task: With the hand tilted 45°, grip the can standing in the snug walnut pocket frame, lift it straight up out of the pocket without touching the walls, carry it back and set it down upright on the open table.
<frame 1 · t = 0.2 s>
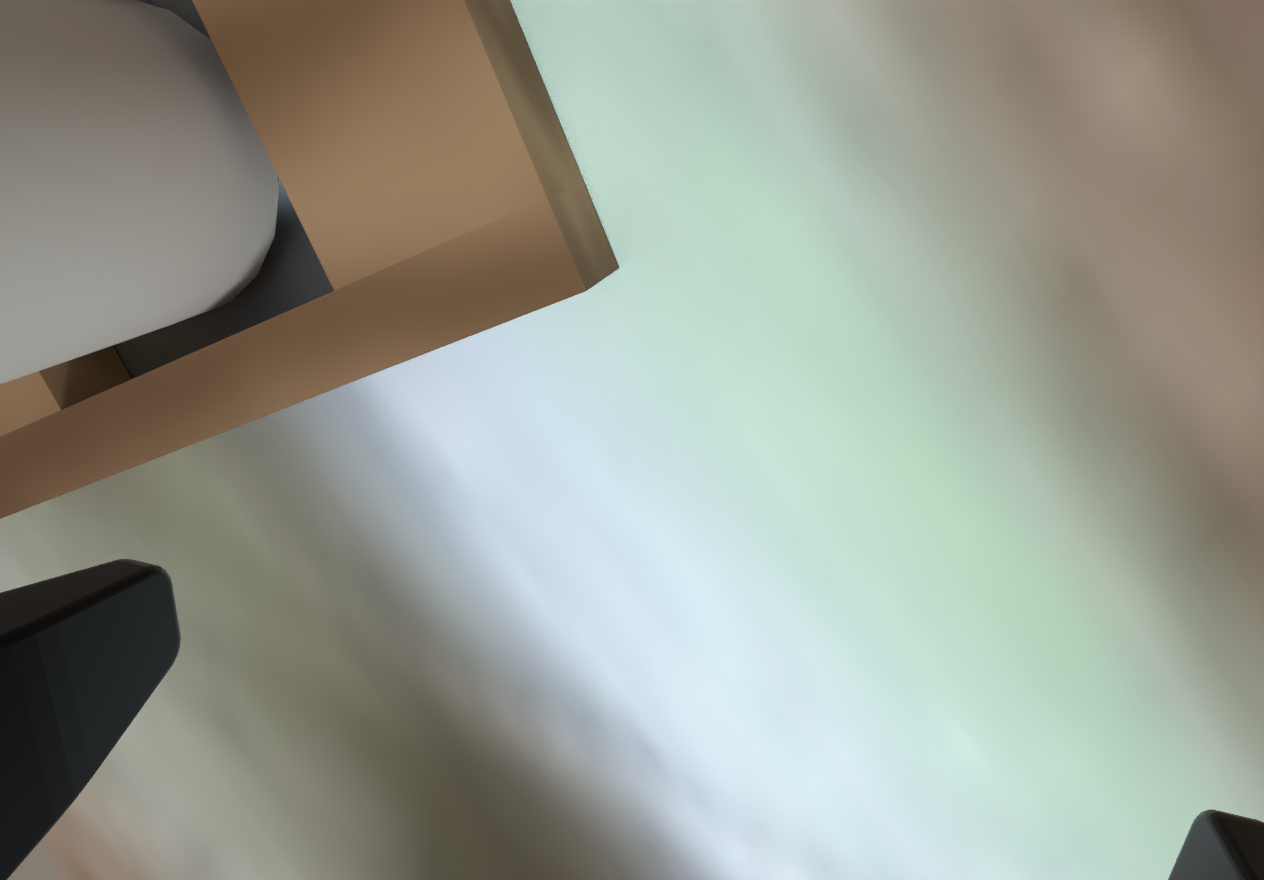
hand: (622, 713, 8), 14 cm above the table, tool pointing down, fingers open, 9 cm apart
can: (173, 162, 24), resting in pocket board
pocket board: (167, 163, 24), on the table
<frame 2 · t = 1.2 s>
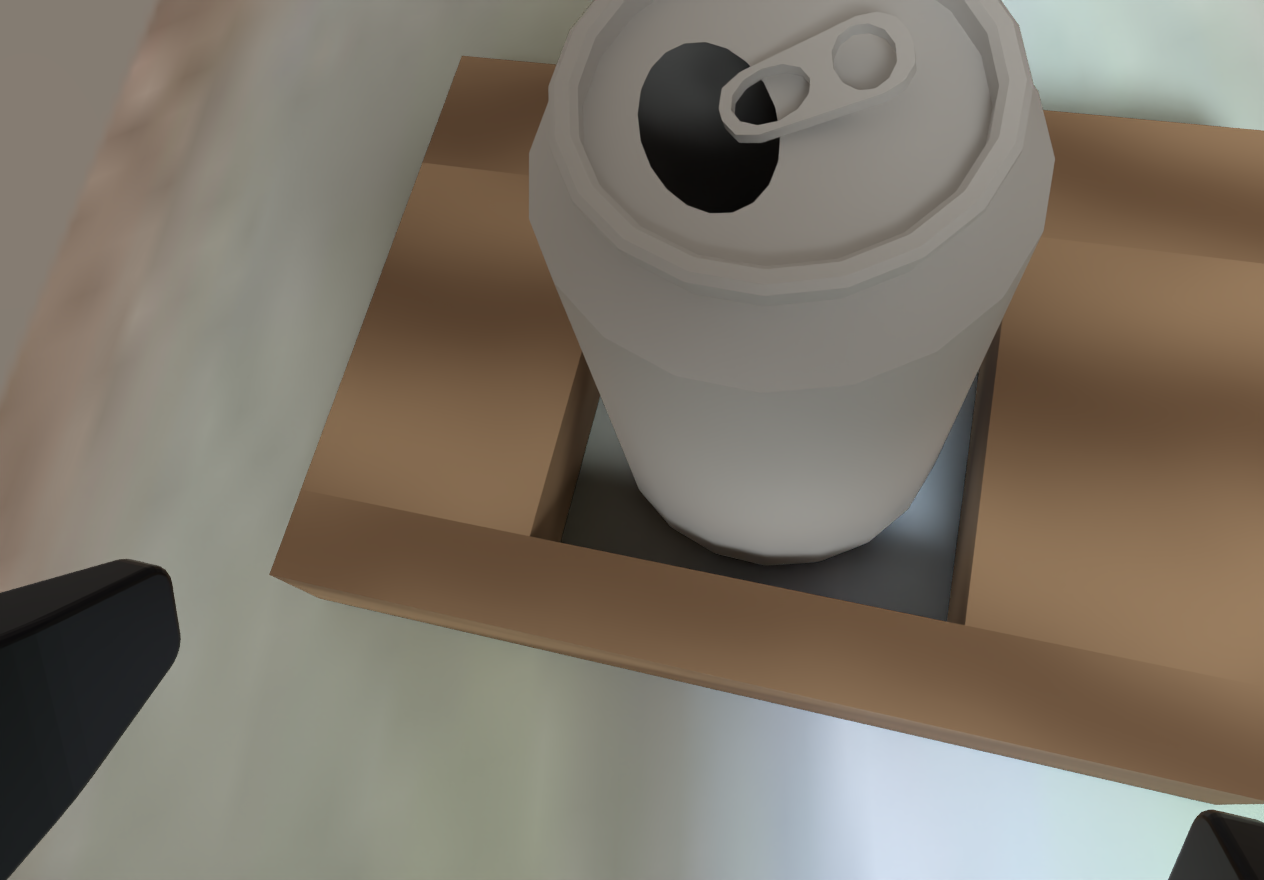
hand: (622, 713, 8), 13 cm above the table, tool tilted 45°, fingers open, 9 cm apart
can: (776, 427, 23), resting in pocket board
pocket board: (776, 424, 23), on the table
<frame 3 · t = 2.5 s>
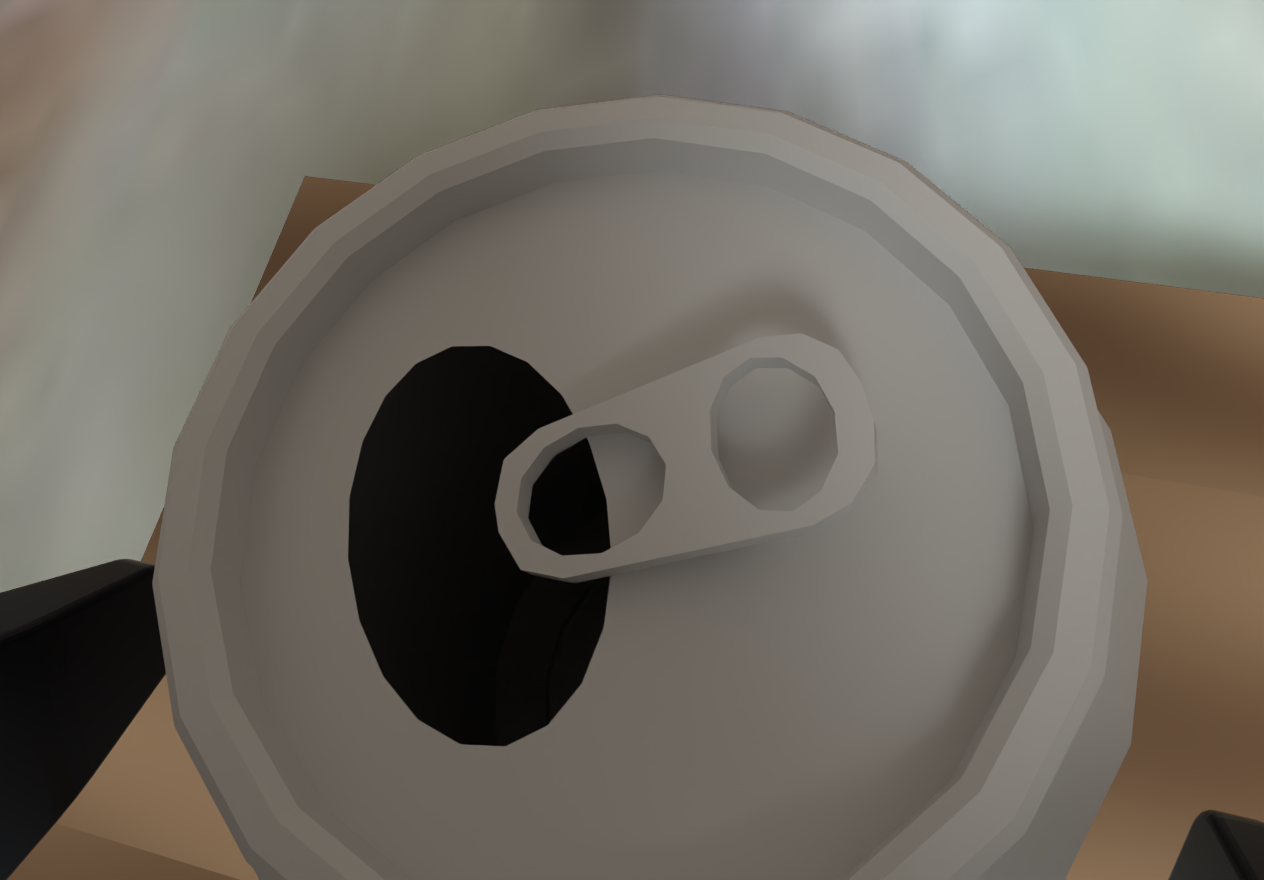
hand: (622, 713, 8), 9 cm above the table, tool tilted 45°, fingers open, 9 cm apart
can: (711, 697, 17), resting in pocket board
pocket board: (710, 695, 17), on the table
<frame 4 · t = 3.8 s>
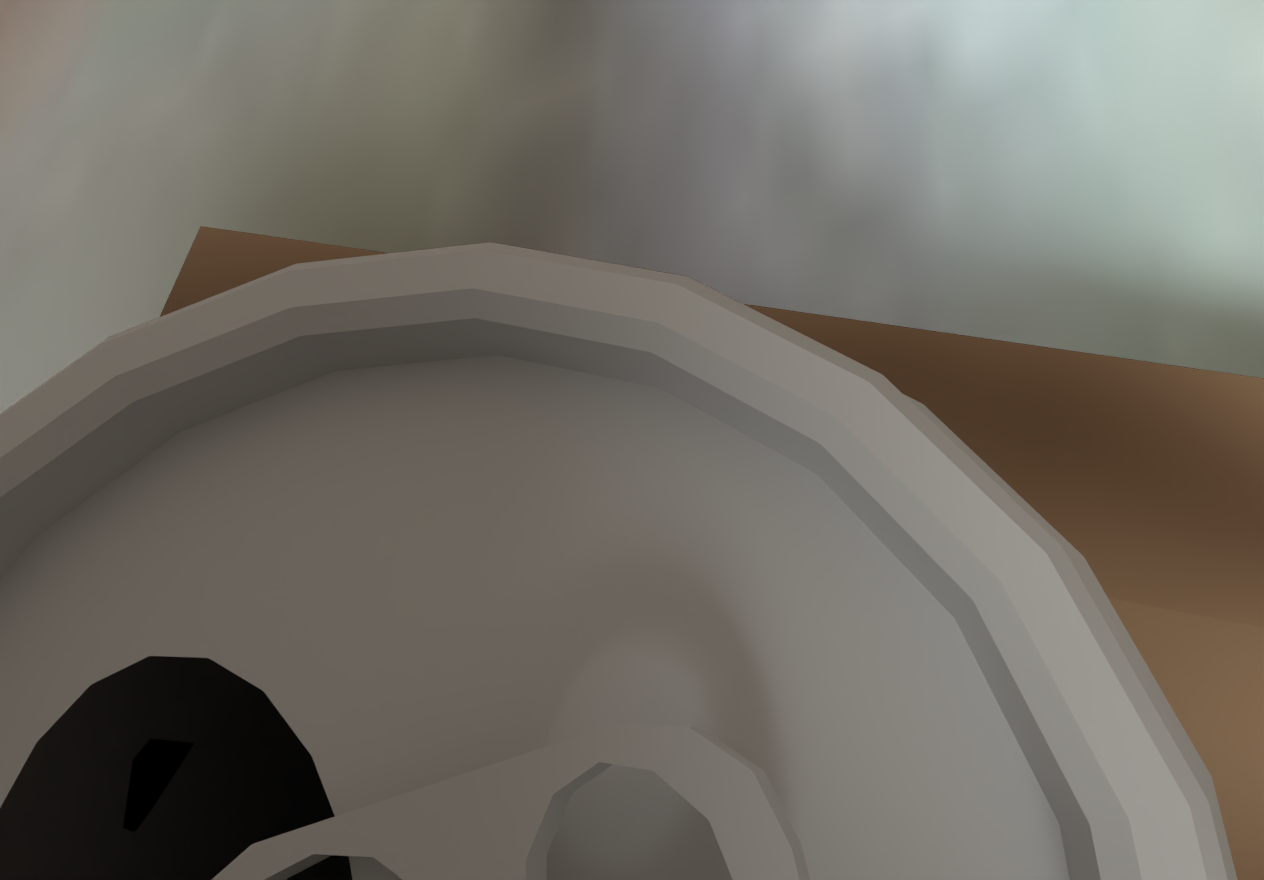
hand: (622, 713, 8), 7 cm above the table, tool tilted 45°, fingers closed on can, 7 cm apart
can: (669, 852, 14), resting in pocket board, touching gripper
pocket board: (668, 852, 14), on the table
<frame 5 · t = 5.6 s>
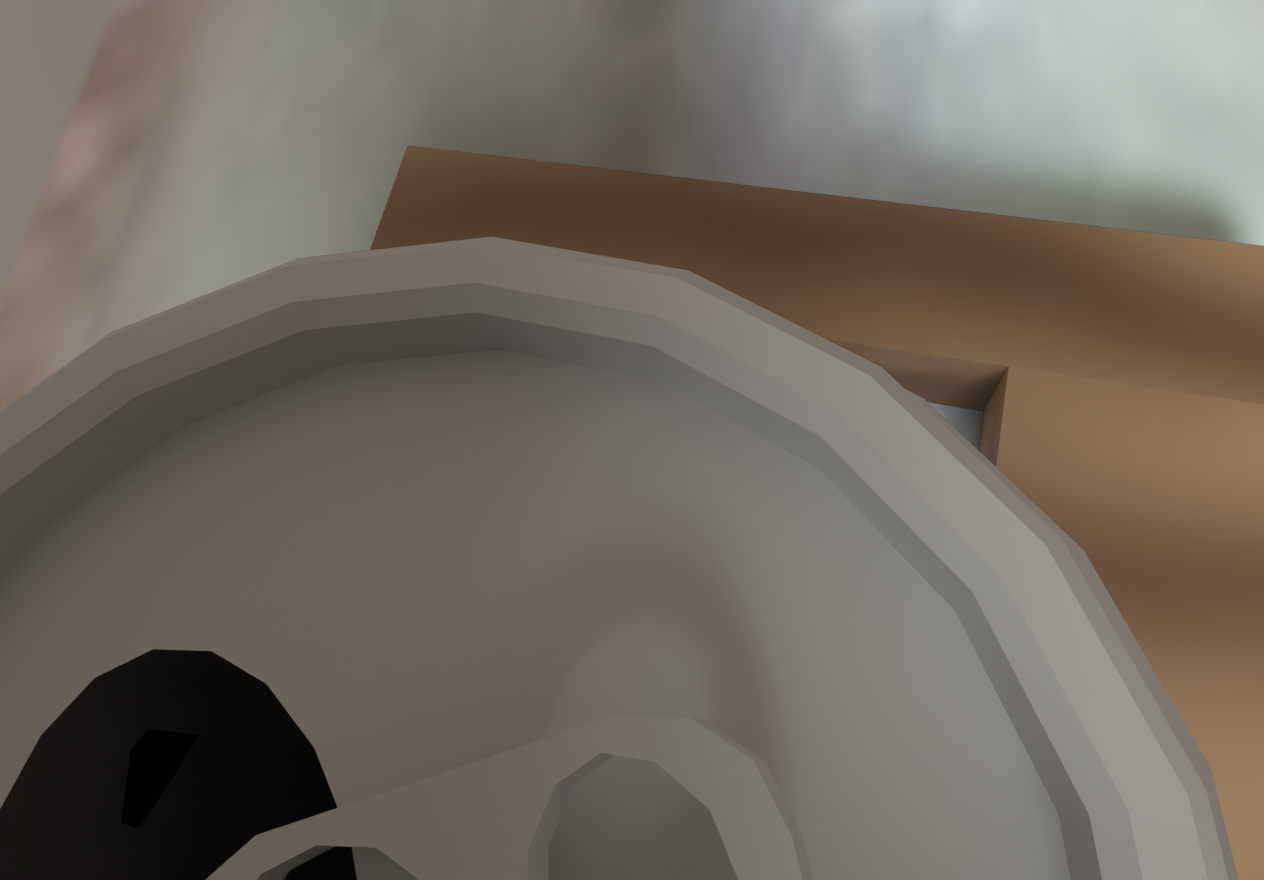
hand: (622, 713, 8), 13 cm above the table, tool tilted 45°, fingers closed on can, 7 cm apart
can: (670, 847, 14), point 5 cm above the table, touching gripper
pocket board: (750, 562, 21), on the table
when the fingers open (8 cm above the table, at t = 7.6 s): can drops 1 cm, on the table.
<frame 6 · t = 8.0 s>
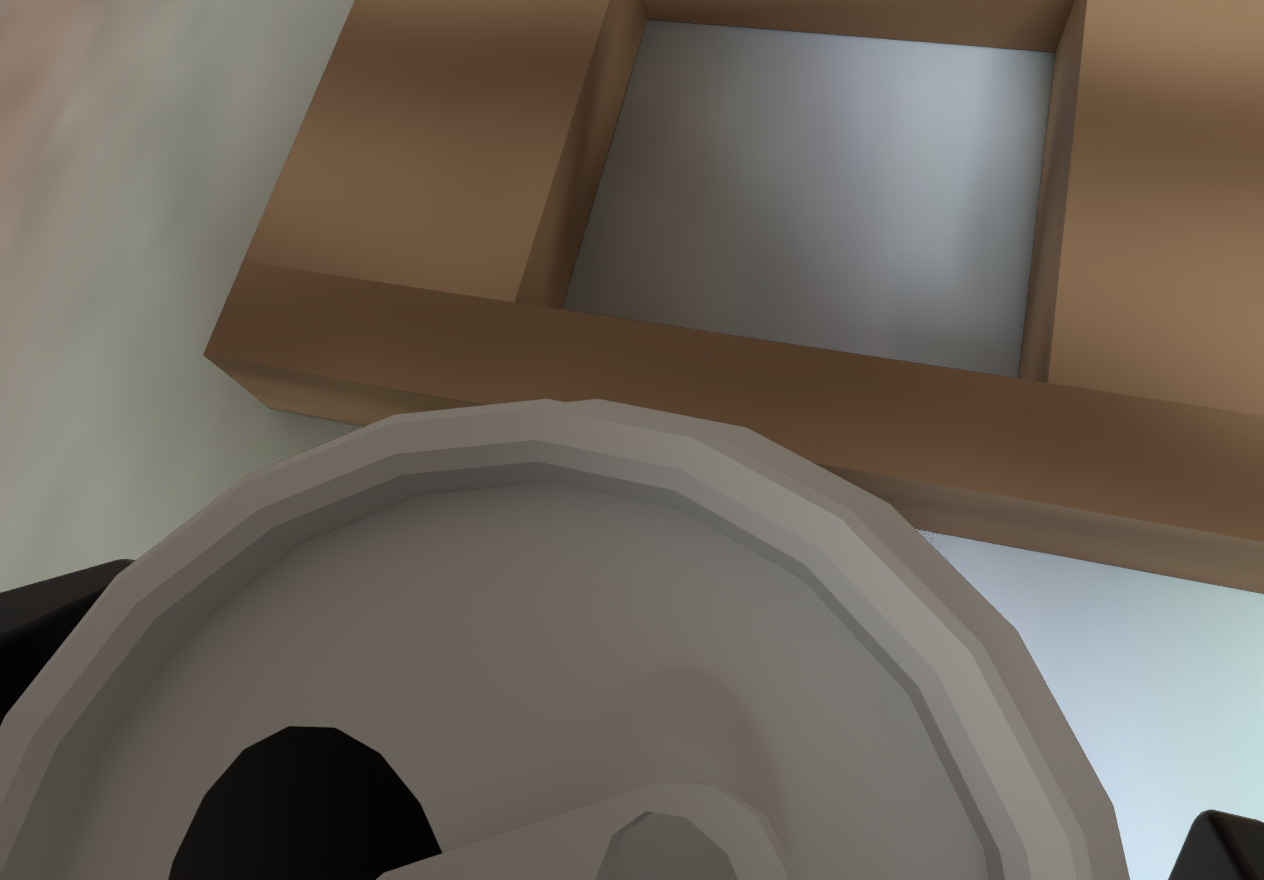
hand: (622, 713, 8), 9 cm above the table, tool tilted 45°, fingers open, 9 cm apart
can: (678, 858, 16), on the table
pocket board: (806, 203, 20), on the table
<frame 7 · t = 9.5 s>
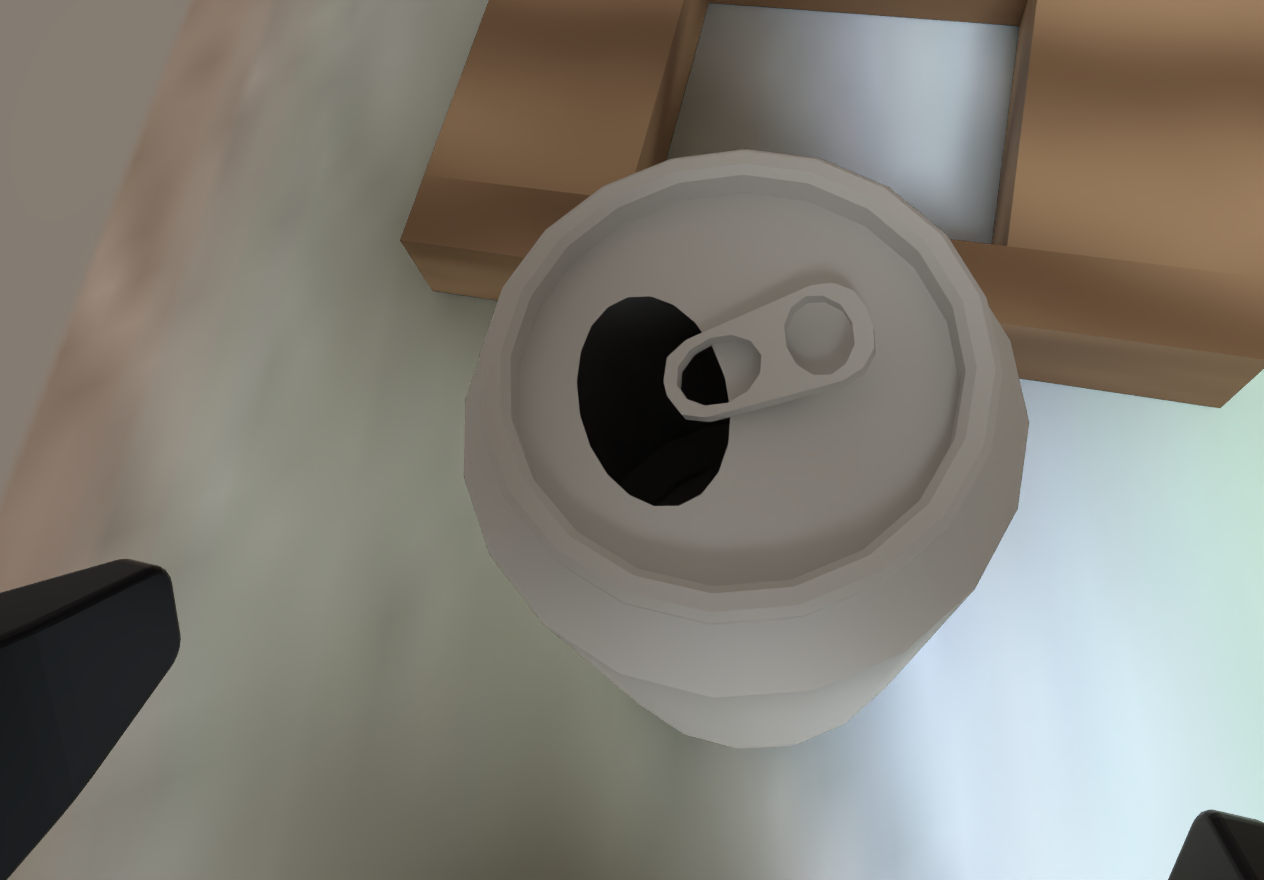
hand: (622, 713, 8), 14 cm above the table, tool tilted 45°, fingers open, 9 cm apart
can: (749, 585, 22), on the table
pocket board: (833, 138, 26), on the table
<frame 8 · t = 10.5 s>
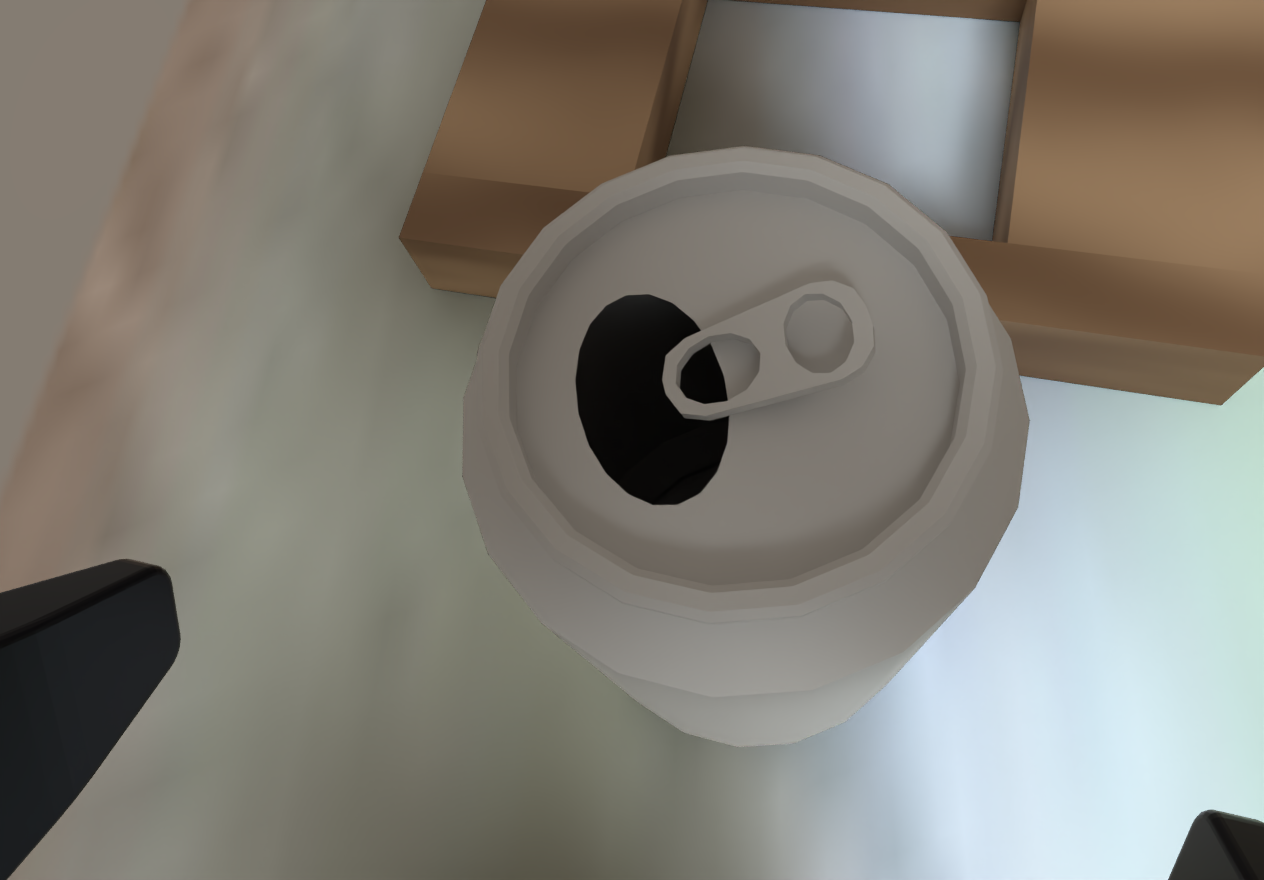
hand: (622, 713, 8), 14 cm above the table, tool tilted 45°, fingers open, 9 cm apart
can: (749, 583, 22), on the table
pocket board: (833, 134, 26), on the table
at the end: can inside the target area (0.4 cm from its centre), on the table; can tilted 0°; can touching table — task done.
